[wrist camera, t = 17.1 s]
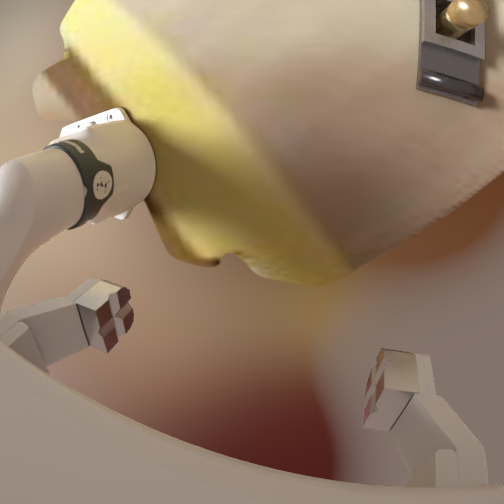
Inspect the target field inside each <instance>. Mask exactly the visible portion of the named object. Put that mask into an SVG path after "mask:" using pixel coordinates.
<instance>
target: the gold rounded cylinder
mask: <svg viewBox="0 0 504 504" xmlns="http://www.w3.org/2000/svg"><path fill="white" fill-rule="evenodd" d="M489 15H490V10H489V7H488V5H487V3H486V1H485V0H453V2H452V3H451V4H450V5H449V6H448V7H447V8H446V9H445V10H444V11H443V12H442V13H441V14H440V15H439V16H438V17H437V19H436V27H437V29H438V31H439V32H440V33H441V34H442V35H444V36H447V37H450V38H453V39H456V38H458V37H460V36H461V35H463V34H464V33H466V32H468V31H469V30H471V29H473V28H474V27H476V26H478V25H479V24H481V23H483V22H484V21H486V20H487V19H488V18H489Z"/></svg>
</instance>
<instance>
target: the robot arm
mask: <svg viewBox="0 0 504 504" xmlns="http://www.w3.org/2000/svg"><path fill="white" fill-rule="evenodd" d="M112 115H113V118H112ZM155 172H156V164H155V157H154V153H153V149H152V147H151V144H150V142H149V141H148V139H147V137H146V136H145V135H144V133H143V132H142V131H141V130H140V129H139V128H138V127H136V126H135V125H134V124H133V123H132V122H131V121H130V119H129V117H128V115H127V114H126V112H125V110H124V109H123V108H121V107H118V108H114V109H111V110H108V111H105V112H102V113H100V114H97V115H94V116H91V117H88V118H86V119H83V120H80V121H78V122H75V123H73V124H70V125H67V126H65V127H63V129H62V131H61V134H60V138H58V139H56V140H53V141H51V142H50V144H49V146H47V147H46V148H44V149H43V150H42V151H38V152H35V153H32V154H29V155H26V156H22V157H19V158H16V159H13V160H10V161H8V162H7V163H5V164H4V165H3V166H2V167H1V168H0V312H1V307H2V304H3V301H4V298H5V295H6V293H7V290H8V288H9V286H10V284H11V282H12V280H13V278H14V277H15V275H16V273H17V272H18V270H19V269H20V267H21V266H22V265H23V263H24V262H25V261H26V259H27V258H28V257H29V256H30V255H31V254H32V253H33V252H34V251H35V250H37V249H38V248H39V247H40V246H42V245H43V244H45V243H46V242H48V241H49V240H50V239H52V238H54V237H55V236H57V235H58V234H60V233H61V232H63V231H65V230H71V229H74V228H77V227H80V226H82V225H84V224H86V223H87V222H90V223H92V224H93V225H96V224H99V223H101V222H104V221H106V220H108V219H110V218H113V217H115V218H118V219H121V220H123V219H125V218H127V217H128V216H129V215H130V213H131V211H132V209H133V207H134V206H136V205H137V204H138V203H140V202H141V201H143V200H144V199H145V198H146V197H147V195H148V194H149V192H150V191H151V189H152V186H153V183H154V179H155ZM130 299H131V296H130V291H129V289H127V288H126V287H124V286H121V285H118V284H115V283H112V282H109V281H107V280H103V279H100V278H97V277H90V278H89V279H87V280H86V281H85V282H84V283H82V284H81V285H79V286H78V287H77V288H75V289H74V290H73V291H72V292H70V293H69V294H68V295H66V296H65V297H64V298H62V297H59V298H55V299H51V300H48V301H44V302H40V303H37V304H33V305H30V306H26V307H22V308H19V309H15V310H11V311H8V312H6V313H5V314H4V315H2V316H1V317H0V504H504V483H498V484H489V481H488V472H487V463H486V456H485V449H484V447H483V446H482V445H481V443H480V442H479V441H478V440H477V438H476V437H475V436H474V435H473V434H472V432H471V431H470V430H469V429H468V427H467V426H466V425H465V424H464V423H463V421H462V420H461V419H460V418H459V417H458V415H457V414H456V413H455V412H454V411H453V409H452V408H451V407H450V406H449V405H448V404H447V402H446V401H445V400H444V399H443V398H442V397H441V396H437V395H436V388H435V381H434V375H433V369H432V364H431V358H430V356H429V355H428V354H420V353H409V352H403V351H396V350H390V349H384V348H381V350H380V351H379V353H378V356H377V360H376V361H377V364H376V366H375V367H374V368H372V370H371V372H370V375H369V378H368V381H367V384H366V390H365V399H366V400H367V402H368V403H367V405H366V407H365V409H364V416H363V427H364V428H370V429H376V430H383V431H390V432H389V434H390V436H391V438H392V439H393V441H394V443H395V445H396V447H397V449H398V451H399V453H400V455H401V457H402V459H403V461H404V463H405V465H406V466H407V469H408V471H409V473H410V474H411V477H410V478H409V479H408V480H407V481H406V482H405V483H404V484H403V485H402V486H400V487H389V486H376V485H365V484H356V483H347V482H340V481H333V480H326V479H321V478H315V477H309V476H304V475H299V474H294V473H289V472H284V471H280V470H276V469H272V468H268V467H264V466H260V465H256V464H252V463H249V462H245V461H241V460H238V459H235V458H231V457H228V456H225V455H222V454H218V453H215V452H212V451H209V450H206V449H203V448H200V447H198V446H195V445H192V444H190V443H187V442H184V441H182V440H179V439H176V438H174V437H171V436H169V435H166V434H163V433H161V432H159V431H156V430H154V429H152V428H150V427H147V426H145V425H143V424H140V423H138V422H136V421H134V420H132V419H130V418H127V417H125V416H123V415H121V414H119V413H117V412H115V411H113V410H111V409H109V408H107V407H105V406H103V405H101V404H99V403H97V402H96V401H94V400H92V399H90V398H88V397H86V396H84V395H83V394H81V393H79V392H78V391H76V390H74V389H72V388H71V387H69V386H67V385H66V384H64V383H62V382H61V381H59V380H57V379H56V378H54V377H52V376H51V375H50V373H49V371H48V369H47V366H49V365H51V364H53V363H55V362H57V361H60V360H62V359H64V358H66V357H68V356H70V355H72V354H75V353H77V352H79V351H81V350H83V349H85V348H88V347H89V346H91V347H93V348H96V349H98V350H100V351H103V352H105V353H108V352H109V351H110V350H111V349H112V348H113V347H114V346H115V345H116V344H117V343H118V336H121V335H124V334H126V333H127V332H128V331H129V329H130V328H131V325H132V323H133V319H134V313H133V308H132V307H131V305H130V304H129V300H130Z"/></svg>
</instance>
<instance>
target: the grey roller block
mask: <svg viewBox="0 0 504 504" xmlns="http://www.w3.org/2000/svg"><path fill="white" fill-rule="evenodd" d="M452 2H453V0H420V34H419V57H418V72H417V84H416V89H418V90H422V91H426V92H430V93H434V94H437V95H441V96H444V97H448V98H451V99H454V100H458V101H461V102H464V103H467V104H470V105H474V106H477V101H479V102H481V101H482V100H483V97H484V88H483V87H482V86H479V76H480V61H483V60H485V21H484V22H483V23H481V24H479V25H478V26H476V27H474V28H473V29H471V30H469V31H468V32H467V43H465V42H462V41H459V40H456V39H453V38H450V37H447V36H444V35H440V34H437V33H436V5H437V6H440V7H444V8H447V7H448V6H449V5H450V4H451V3H452Z"/></svg>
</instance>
